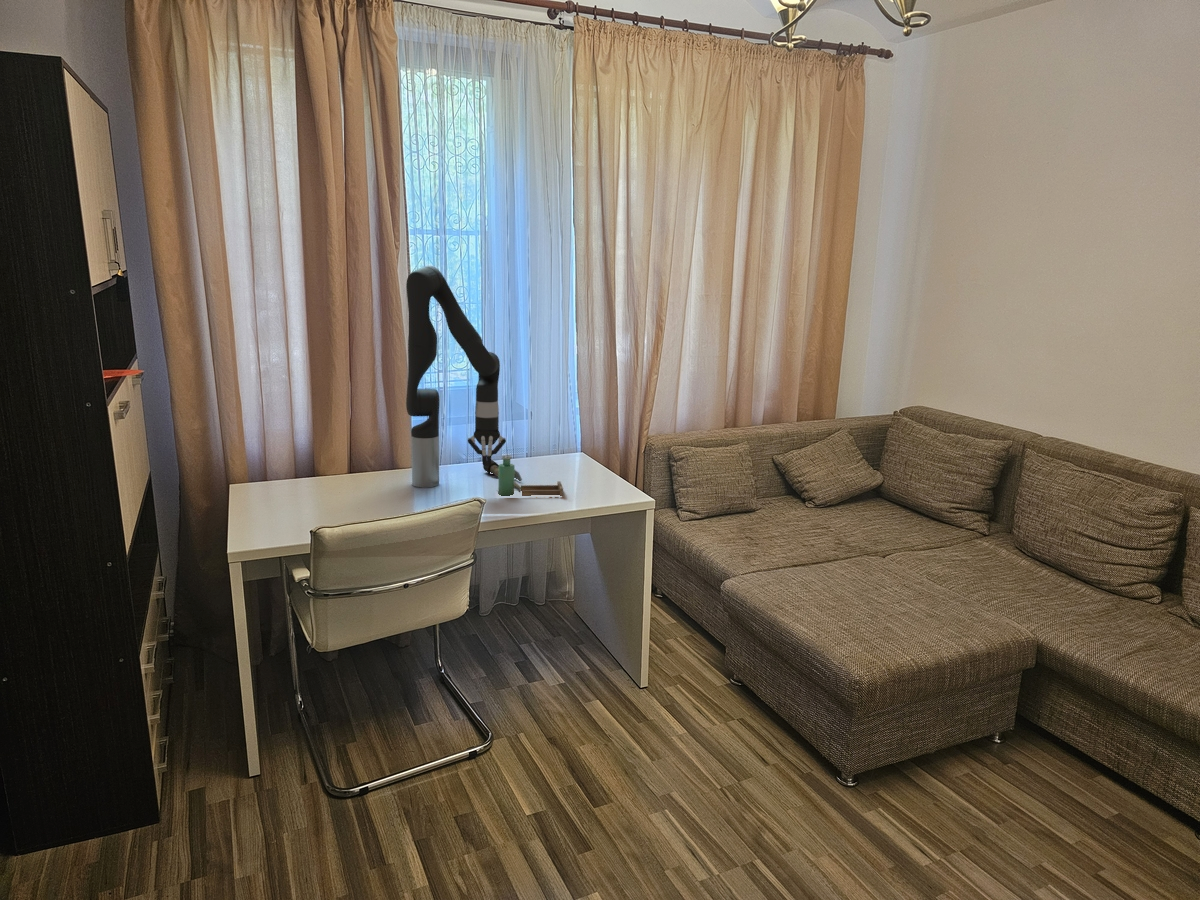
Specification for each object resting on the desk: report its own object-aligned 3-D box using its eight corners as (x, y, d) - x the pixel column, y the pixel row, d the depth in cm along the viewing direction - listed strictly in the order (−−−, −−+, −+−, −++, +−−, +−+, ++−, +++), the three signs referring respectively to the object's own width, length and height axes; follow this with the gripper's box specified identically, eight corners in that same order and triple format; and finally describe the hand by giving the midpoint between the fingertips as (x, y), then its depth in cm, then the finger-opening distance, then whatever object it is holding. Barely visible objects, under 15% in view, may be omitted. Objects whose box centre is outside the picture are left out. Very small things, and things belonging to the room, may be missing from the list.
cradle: (493, 493, 276) (493, 481, 275) (560, 492, 280) (560, 481, 279) (494, 500, 267) (494, 489, 266) (562, 500, 271) (563, 488, 270)
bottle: (498, 492, 274) (498, 454, 271) (513, 492, 275) (514, 454, 272) (498, 496, 269) (499, 458, 266) (514, 496, 270) (515, 458, 267)
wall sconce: (515, 496, 276) (483, 472, 301) (532, 493, 279) (499, 469, 304) (514, 483, 274) (482, 460, 300) (531, 480, 277) (498, 457, 303)
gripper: (507, 412, 269) (506, 463, 273) (466, 412, 267) (466, 463, 271) (507, 416, 262) (507, 469, 266) (466, 416, 260) (466, 469, 264)
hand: (486, 466), depth 269 cm, fingers closed
